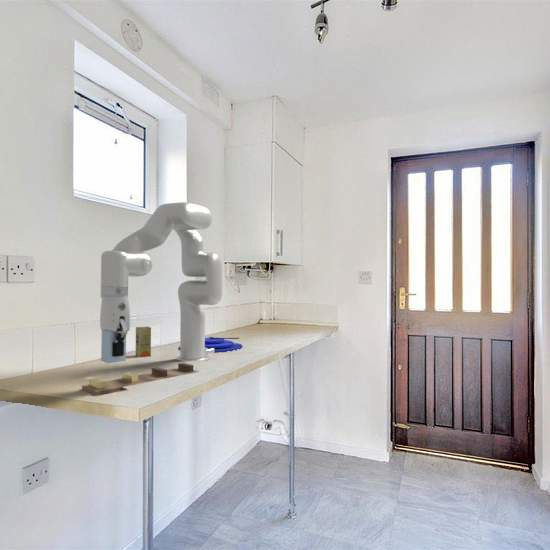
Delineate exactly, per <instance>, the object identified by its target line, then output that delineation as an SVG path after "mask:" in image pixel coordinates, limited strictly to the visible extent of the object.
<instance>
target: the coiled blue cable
mask: <svg viewBox="0 0 550 550" xmlns="http://www.w3.org/2000/svg"><path fill="white" fill-rule="evenodd" d="M236 339H237V340H238V339H240V337H213V336H208V337H205V348H207V349H211V348H214V353H215V354H216V353H217V354H218V353H219V352H221V353H228V352H227V351H230V352H234V351H233V350H235V351H238V350H237V349H239V350H241V348H242V347H243V345H242V344H241V343H238V342H234V341H232V340H236ZM242 349H243V348H242ZM178 350H179V351H180V346H179V347H178ZM214 353H213V354H214ZM219 354H220V353H219Z"/></svg>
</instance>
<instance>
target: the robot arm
mask: <svg viewBox="0 0 550 550" xmlns="http://www.w3.org/2000/svg"><path fill="white" fill-rule="evenodd" d="M212 221H213V218H212V213H211V211H210V210H209V209H208V207H205V206H203V205H199V204H195V203H192V202H191V203H190V202H186V201H184V202H183V201H181V202H169V203H163V204H160V205H159V206H158V207H157V208H156V209H155V211H154V212H153V213H152V214H151V216H150V217H149V219H147V221H146V222H145V223H144V225H143V227H141V228H139V229H138V230H136V231H134V232H133V233H130V234H129V235H128V236H126V237H125V238H123V239H121V241H119V242H118V243H117V244H116V245H115V246H114V247H113V249H112V250H105V251H103V252H102V253H101V256H100V296H99V297H100V298H101V305H100V316H99V321H100V322H99V323H100V327H99V328H100V329H101V331H102V330H107V331H112V332H113V338H114V343H112V356H113V357H117V356H123V355H124V342H125V336H126V337H127V334H128V332H129V331H130V329H131V314H130V313H131V311H130V304H129V277H135V278H136V277H144V276H146V275H148V274H149V273H150V272H151V270H152V268H153V261H152V258H151V257H150V256H149V255H148V254H147V253H144V252H147V251H150V250H154V249H156V248H158V247H160V246H162V245H163V244H164V243H165V242H166V240H167V239H168V237H169V236H170V235H171V233H172V231H173V230H174V231H175V233H176V234H177V236H178V237H179V240H180V246H181V248H180V250H181V272H182V274H183V275H184V276H186V277H190V278H205V279H206V280H197V279H196V280H195V279H194V280H186V281H183V282H181V283H180V284H179V286H178V289H177V297H178V301H179V310H180V311H179V312H180V324H179V325H180V333H179V334H180V338H179V339H180V340H179V342H180V343H179V344H180V346H179V347H180V350H179V351H180V353H179V354H180V355H179V356H177V357H176V358H175V359H176V360H177V361H182V362H197V361H198V362H199V361H205V362H208V361H209V356H208V355H209V354H214V348H211V349H207V348H205V338H206V332H205V331H206V315H205V312H204V310H203V307H202V306H201V305H203V306H204V305H205V306H213V305H218V304H219V303H220V302H221V299H222V296H223V295H222V294H223V271H222V270H223V267H222V260H221V258H220V256H219V255H218V254H216V253H215V252H204V242H203V237H202V236H201V235H200V233H199V231H200V230H207V229H208V228H210V227H211V224H212ZM119 329H120V330H121V331H117V330H119ZM117 334H118V336H117Z"/></svg>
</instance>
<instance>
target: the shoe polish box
mask: <svg viewBox="0 0 550 550" xmlns="http://www.w3.org/2000/svg"><path fill="white" fill-rule="evenodd" d="M151 350H152V327H150V326H149V325H148V326H136V327H135V357H138V358H143V357H144V358H145V357H152V354H151V353H152V351H151Z"/></svg>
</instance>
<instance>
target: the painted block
mask: <svg viewBox="0 0 550 550" xmlns="http://www.w3.org/2000/svg"><path fill="white" fill-rule="evenodd" d="M117 331H121V330H120V329H119V330H117ZM117 336H118V334H117ZM112 343H114V338H113V332H112V331H107V330H101V348H100V349H101V351H100V352H101V353H100V355H101V357H100V358H101V359H100V361H101V362H104V363H107V364H113V363H114V364H115V363H121V362H126V358H127V354H126V353H127V335H126V336H125V342H124V355H123V356H117V357H113V356H112Z"/></svg>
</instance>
